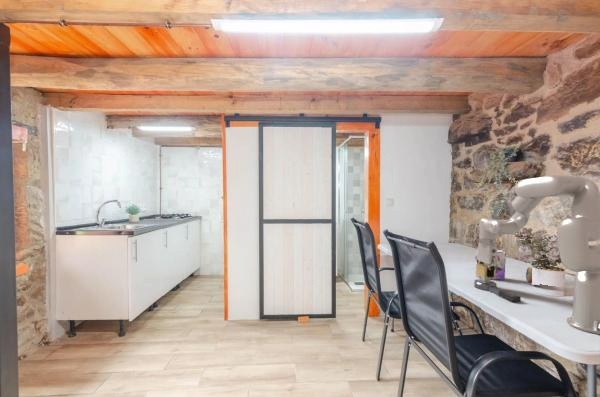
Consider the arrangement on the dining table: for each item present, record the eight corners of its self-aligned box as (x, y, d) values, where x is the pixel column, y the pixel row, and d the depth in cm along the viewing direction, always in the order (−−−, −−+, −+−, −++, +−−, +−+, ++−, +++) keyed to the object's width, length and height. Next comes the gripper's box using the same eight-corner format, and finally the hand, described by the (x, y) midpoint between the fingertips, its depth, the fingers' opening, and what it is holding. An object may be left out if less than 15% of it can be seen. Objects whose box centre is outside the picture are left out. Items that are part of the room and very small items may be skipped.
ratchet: (525, 302, 139) (526, 287, 139) (506, 302, 138) (506, 287, 138) (487, 284, 164) (487, 272, 164) (470, 284, 163) (470, 272, 163)
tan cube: (495, 278, 156) (496, 266, 155) (484, 278, 155) (484, 266, 155) (486, 274, 162) (487, 263, 162) (475, 274, 161) (476, 263, 161)
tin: (525, 279, 175) (525, 265, 174) (531, 280, 174) (532, 266, 173) (535, 287, 160) (536, 272, 160) (542, 288, 159) (543, 273, 159)
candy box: (478, 278, 176) (479, 250, 175) (475, 275, 182) (476, 248, 181) (504, 280, 173) (506, 252, 172) (500, 277, 178) (502, 250, 178)
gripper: (506, 244, 149) (504, 280, 150) (482, 238, 167) (480, 270, 168) (492, 244, 149) (491, 280, 150) (469, 238, 166) (468, 270, 167)
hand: (485, 274), depth 159 cm, fingers closed on tan cube, 6 cm apart
